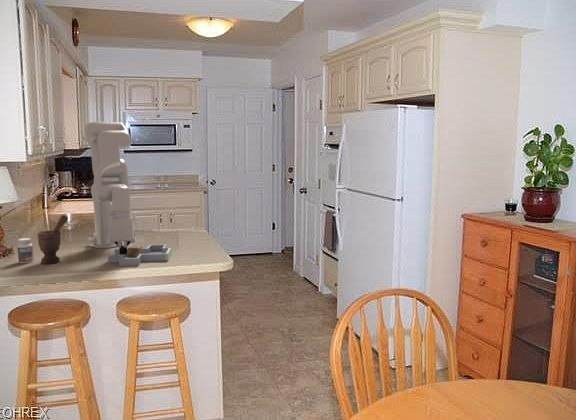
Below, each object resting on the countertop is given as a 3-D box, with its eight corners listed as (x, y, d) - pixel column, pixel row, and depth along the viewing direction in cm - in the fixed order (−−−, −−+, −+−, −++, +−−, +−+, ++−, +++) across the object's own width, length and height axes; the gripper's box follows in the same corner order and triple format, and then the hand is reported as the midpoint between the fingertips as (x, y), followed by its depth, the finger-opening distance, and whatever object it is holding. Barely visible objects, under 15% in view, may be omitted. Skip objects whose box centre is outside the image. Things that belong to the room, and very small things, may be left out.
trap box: (104, 266, 208) (103, 259, 207) (118, 251, 234) (118, 245, 234) (165, 264, 210) (165, 257, 210) (173, 250, 237) (173, 244, 237)
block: (128, 259, 219) (127, 248, 219) (130, 256, 224) (130, 245, 224) (140, 259, 220) (139, 248, 219) (142, 256, 225) (141, 245, 224)
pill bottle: (22, 260, 218) (20, 237, 217) (35, 260, 218) (34, 237, 217) (16, 263, 212) (14, 240, 211) (30, 263, 213) (28, 240, 211)
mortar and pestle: (64, 257, 223) (61, 213, 220) (72, 261, 217) (69, 215, 214) (36, 262, 215) (33, 215, 212) (44, 265, 209) (41, 218, 206)
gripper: (101, 216, 214) (103, 258, 217) (137, 215, 216) (139, 257, 218) (106, 213, 222) (108, 254, 224) (140, 213, 223) (142, 253, 226)
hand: (123, 255), depth 221 cm, fingers closed
